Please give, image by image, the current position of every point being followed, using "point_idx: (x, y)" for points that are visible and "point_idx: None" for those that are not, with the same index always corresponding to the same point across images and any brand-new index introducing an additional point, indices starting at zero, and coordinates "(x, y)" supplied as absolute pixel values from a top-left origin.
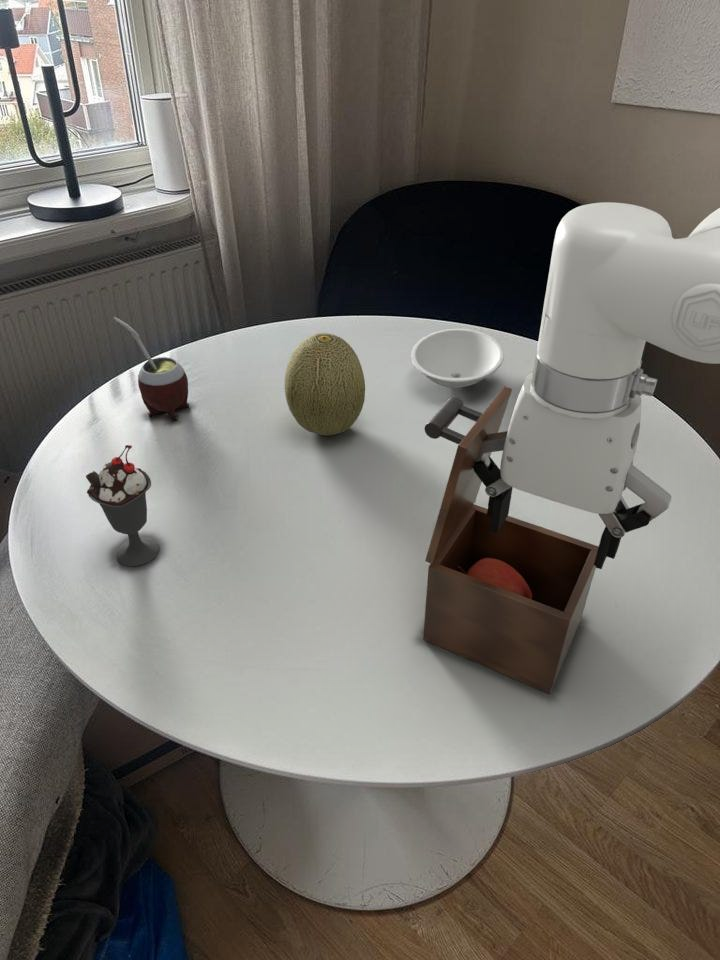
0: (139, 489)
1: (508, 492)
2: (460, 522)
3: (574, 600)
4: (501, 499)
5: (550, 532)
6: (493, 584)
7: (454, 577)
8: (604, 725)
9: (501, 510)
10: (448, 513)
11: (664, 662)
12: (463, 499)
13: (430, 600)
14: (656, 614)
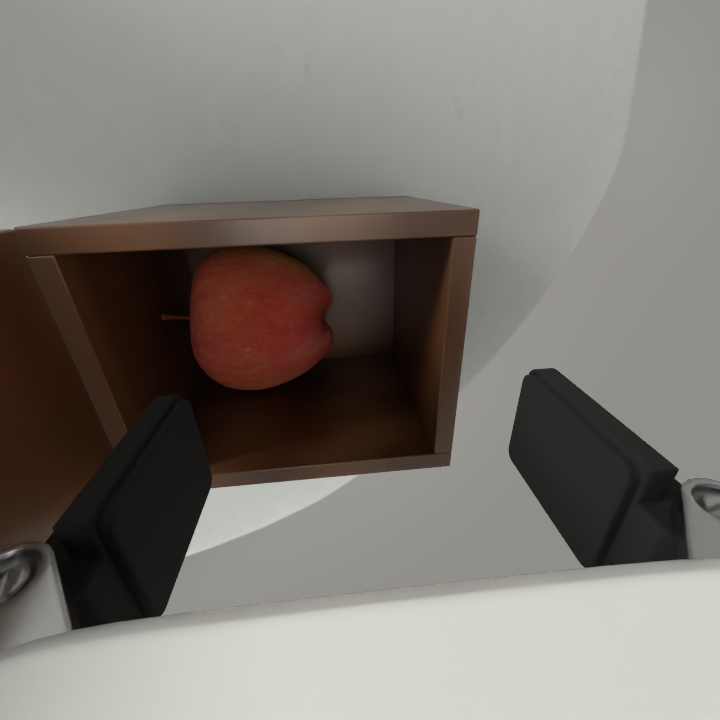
0: None
1: (134, 556)
2: (71, 365)
3: (447, 421)
4: (146, 611)
5: (319, 230)
6: (263, 375)
7: None
8: (473, 361)
9: (178, 555)
10: None
11: (546, 212)
12: (6, 535)
13: None
14: (535, 91)
